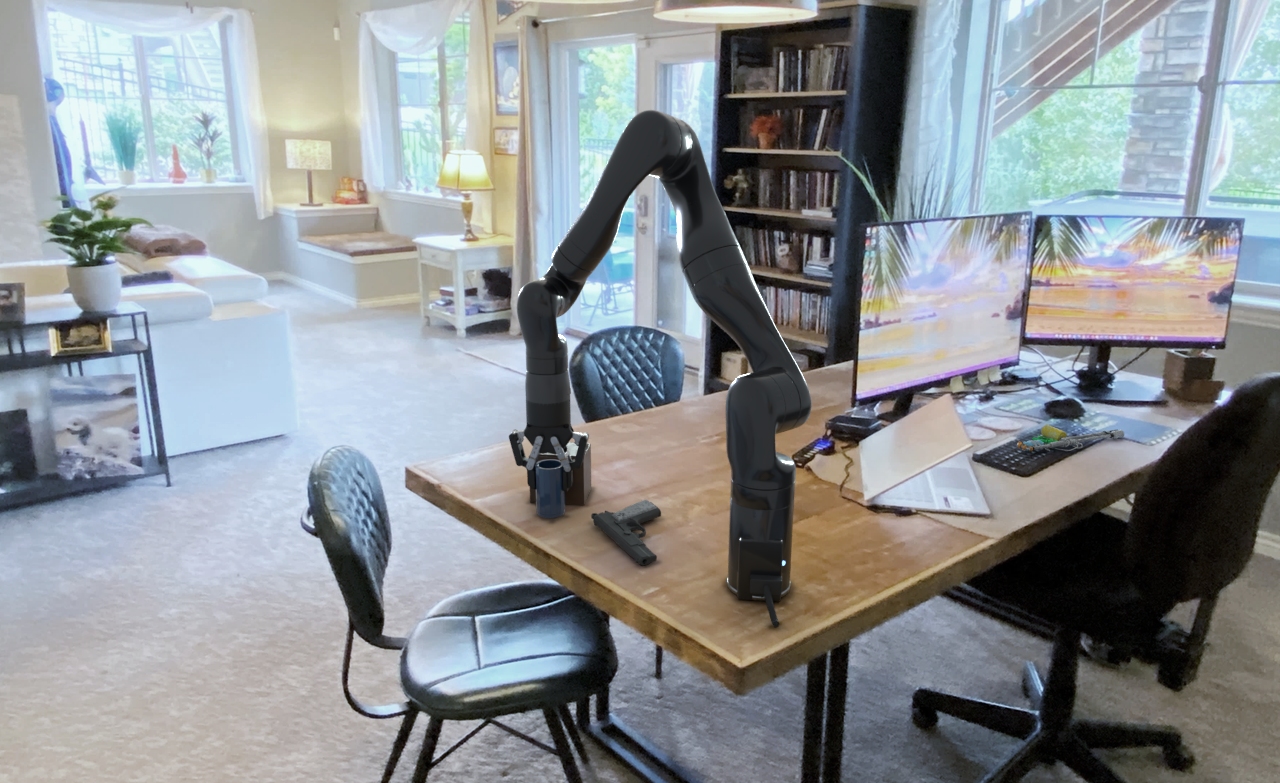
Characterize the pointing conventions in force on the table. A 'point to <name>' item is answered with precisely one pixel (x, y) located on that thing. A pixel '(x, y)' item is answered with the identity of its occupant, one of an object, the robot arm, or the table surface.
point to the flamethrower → (1064, 439)
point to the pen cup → (549, 488)
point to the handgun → (629, 528)
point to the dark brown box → (580, 476)
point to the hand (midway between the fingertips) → (550, 488)
